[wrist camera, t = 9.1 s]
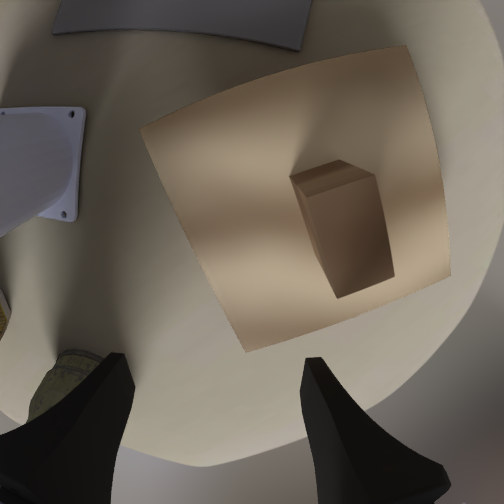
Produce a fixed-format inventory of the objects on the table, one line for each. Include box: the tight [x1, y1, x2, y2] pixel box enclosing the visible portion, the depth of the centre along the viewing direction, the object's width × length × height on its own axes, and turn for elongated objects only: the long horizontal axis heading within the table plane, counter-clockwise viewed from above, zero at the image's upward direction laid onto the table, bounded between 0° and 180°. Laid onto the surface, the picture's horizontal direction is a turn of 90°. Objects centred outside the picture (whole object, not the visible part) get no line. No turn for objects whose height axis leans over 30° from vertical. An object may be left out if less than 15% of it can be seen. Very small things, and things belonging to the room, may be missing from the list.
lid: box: [139, 45, 451, 352], centre depth 12 cm, size 13×13×5 cm
